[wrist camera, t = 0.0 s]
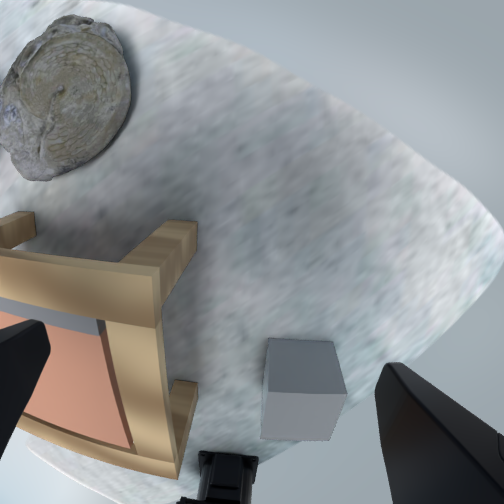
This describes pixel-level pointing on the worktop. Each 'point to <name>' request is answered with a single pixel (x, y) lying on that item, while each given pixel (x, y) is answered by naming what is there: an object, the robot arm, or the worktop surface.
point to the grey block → (301, 390)
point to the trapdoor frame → (115, 335)
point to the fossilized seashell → (64, 98)
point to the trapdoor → (74, 374)
